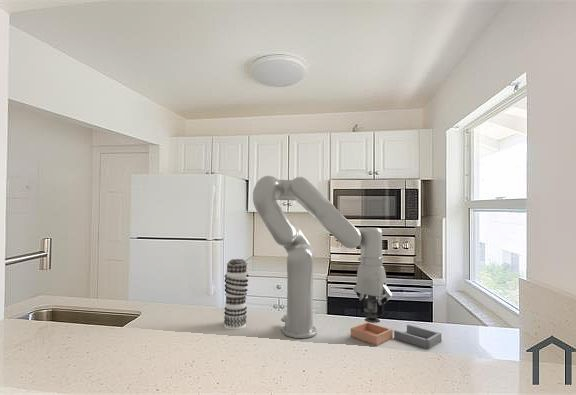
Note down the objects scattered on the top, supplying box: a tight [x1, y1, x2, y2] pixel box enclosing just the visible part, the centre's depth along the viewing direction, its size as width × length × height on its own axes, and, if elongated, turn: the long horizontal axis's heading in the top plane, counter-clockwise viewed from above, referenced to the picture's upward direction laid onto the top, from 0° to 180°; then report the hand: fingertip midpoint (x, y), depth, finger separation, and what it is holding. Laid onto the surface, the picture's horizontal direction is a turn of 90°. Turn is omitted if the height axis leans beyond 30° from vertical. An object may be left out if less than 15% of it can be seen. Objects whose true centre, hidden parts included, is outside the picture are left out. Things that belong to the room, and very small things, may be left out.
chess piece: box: [364, 295, 381, 324], centre depth 110 cm, size 6×6×12 cm
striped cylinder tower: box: [223, 258, 249, 331], centre depth 120 cm, size 9×9×25 cm
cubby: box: [393, 324, 442, 350], centre depth 109 cm, size 12×10×2 cm
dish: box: [350, 321, 394, 347], centre depth 110 cm, size 10×10×3 cm
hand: (372, 313), depth 110 cm, fingers closed on chess piece, 5 cm apart
